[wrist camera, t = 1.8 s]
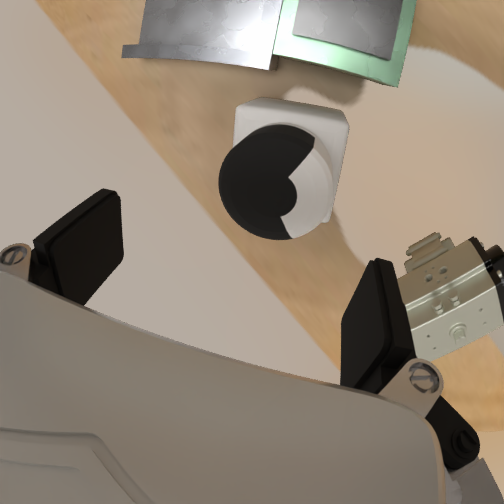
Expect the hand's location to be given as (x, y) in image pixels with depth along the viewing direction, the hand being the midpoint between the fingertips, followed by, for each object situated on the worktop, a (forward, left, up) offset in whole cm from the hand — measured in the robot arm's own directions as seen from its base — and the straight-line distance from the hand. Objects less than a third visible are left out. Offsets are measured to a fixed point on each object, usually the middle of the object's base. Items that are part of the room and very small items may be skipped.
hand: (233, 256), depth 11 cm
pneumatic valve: (-15, +6, -18) cm, 24 cm away
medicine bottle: (0, 0, -18) cm, 18 cm away
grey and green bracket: (+4, -12, -17) cm, 22 cm away
